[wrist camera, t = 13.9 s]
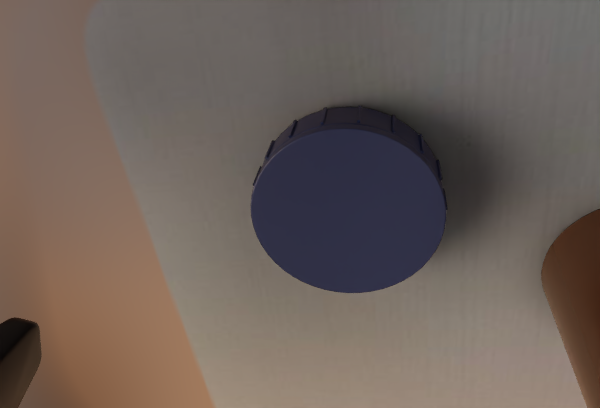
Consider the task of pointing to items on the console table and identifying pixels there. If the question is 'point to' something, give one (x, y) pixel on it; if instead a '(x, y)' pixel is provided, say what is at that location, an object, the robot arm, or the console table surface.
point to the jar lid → (349, 200)
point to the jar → (577, 299)
